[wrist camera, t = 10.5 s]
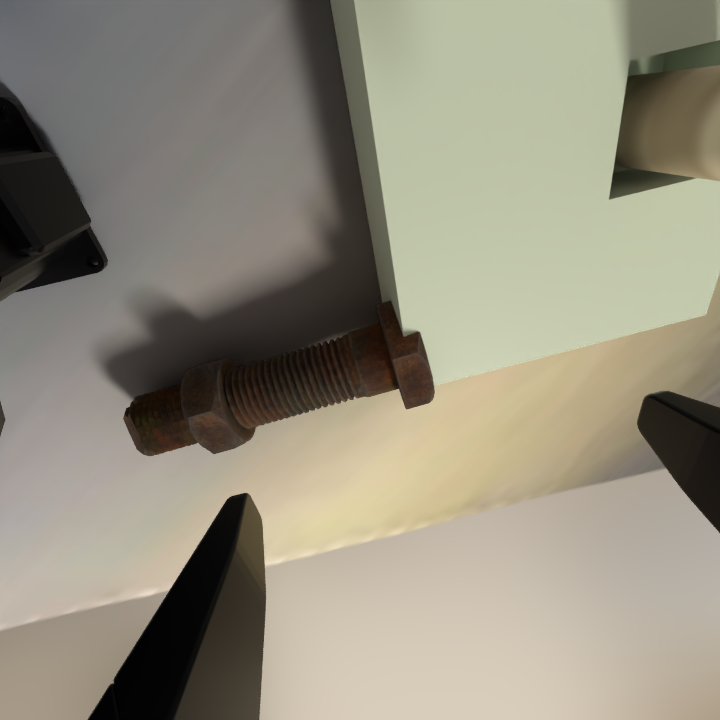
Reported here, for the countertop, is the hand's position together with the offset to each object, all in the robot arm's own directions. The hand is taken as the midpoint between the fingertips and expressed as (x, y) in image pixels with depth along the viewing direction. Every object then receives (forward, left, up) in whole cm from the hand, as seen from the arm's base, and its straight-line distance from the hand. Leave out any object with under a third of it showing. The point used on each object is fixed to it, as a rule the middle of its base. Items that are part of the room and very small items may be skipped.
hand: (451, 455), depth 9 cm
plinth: (+8, +4, -13) cm, 16 cm away
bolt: (-5, -4, -13) cm, 15 cm away
